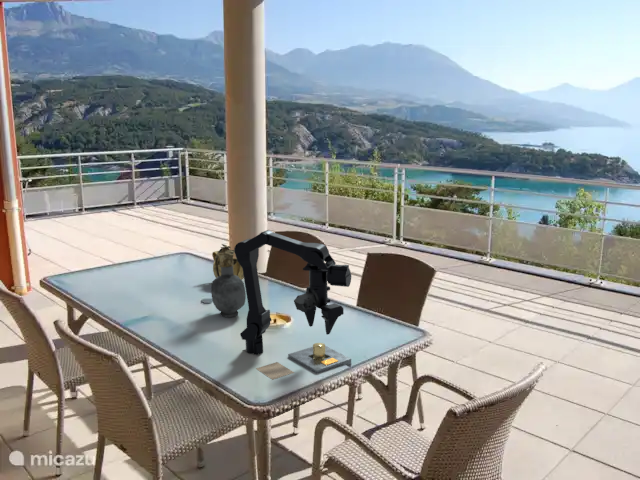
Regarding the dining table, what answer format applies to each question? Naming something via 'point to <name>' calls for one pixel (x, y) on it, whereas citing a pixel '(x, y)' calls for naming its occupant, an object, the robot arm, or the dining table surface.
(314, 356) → the brass peg
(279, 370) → the pad
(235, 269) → the dried plant tuft
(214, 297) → the grey stone vase
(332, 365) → the hole plate
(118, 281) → the dining table surface
